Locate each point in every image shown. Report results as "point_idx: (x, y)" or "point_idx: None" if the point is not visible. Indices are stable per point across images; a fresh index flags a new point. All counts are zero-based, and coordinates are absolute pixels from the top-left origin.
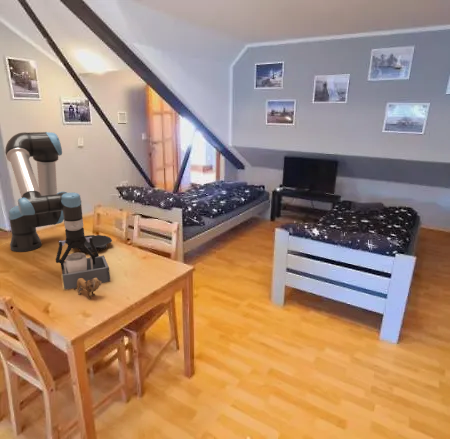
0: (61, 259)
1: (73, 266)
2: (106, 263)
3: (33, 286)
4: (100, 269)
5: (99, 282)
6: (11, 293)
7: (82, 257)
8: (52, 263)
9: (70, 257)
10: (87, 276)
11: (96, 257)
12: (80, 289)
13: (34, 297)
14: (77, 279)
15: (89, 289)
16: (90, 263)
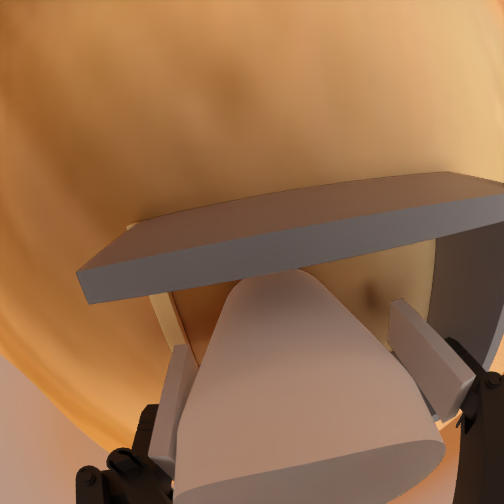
0: (137, 493)
1: (276, 488)
2: (494, 352)
3: (38, 327)
4: (435, 419)
5: None
6: (5, 353)
7: (398, 372)
8: (59, 16)
9: (220, 421)
10: None
11: (493, 219)
12: None
13: (97, 413)
14: None
15: None
16: (422, 340)
